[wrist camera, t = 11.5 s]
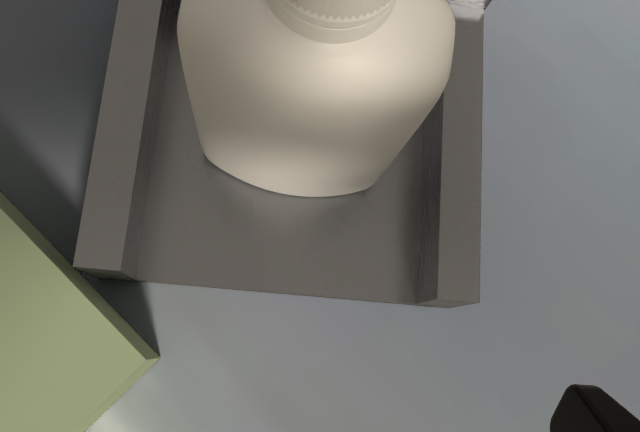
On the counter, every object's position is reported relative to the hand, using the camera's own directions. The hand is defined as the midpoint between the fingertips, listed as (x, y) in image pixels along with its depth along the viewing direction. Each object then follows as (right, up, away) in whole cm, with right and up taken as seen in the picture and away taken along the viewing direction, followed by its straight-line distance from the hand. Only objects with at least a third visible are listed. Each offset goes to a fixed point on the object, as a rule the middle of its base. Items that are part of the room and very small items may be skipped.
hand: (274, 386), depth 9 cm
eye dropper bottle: (0, +5, +10) cm, 11 cm away
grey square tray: (0, +5, +11) cm, 12 cm away
